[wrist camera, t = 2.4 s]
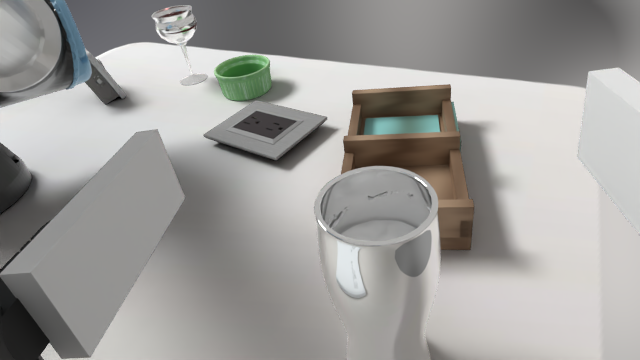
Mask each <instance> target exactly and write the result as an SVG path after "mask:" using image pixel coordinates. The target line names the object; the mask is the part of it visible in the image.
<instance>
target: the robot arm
mask: <svg viewBox="0 0 640 360" xmlns="http://www.w3.org/2000/svg"><path fill="white" fill-rule="evenodd" d="M91 74H92V69H91V65H90V61H89V59H88V56H87V54H86V51H85V47H84V44H83V42H82V39H81V36H80V34H79V31H78V29H77V26H76V24H75V22H74V19H73V17H72V15H71V13H70V11H69V9H68V6H67V4H66V2H65V0H0V108H1V107H5V106H8V105H12V104H15V103H18V102H22V101H25V100H29V99H32V98H36V97H39V96H43V95H46V94H49V93H53V92H56V91H60V90H63V89H71V88H73V87H74V86H75V85H78V84H81V83H83V82H86V81H87V80H89V78H90V77H91ZM577 157H578V159H579V160H580V161H581V162H582V164H583V165H584V166H585V168H586V169H587V170H588V171H589V173H590V174H591V175H592V176H593V178H594V179H595V180H596V181H597V183H598V184H599V185H600V186H601V188H602V189H603V190H604V191H605V193H606V194H607V195H608V196H609V198H610V199H611V200H612V201H613V203H614V204H615V205H616V206H617V208H618V209H619V210H620V211H621V213H622V214H623V215H624V217H625V218H626V219H627V220H628V222H629V223H630V224H631V225H632V227H633V228H634V229H635V230H636V231H637V233H638V234H639V235H640V82H638V81H637V80H635V79H634V78H633V77H631V76H630V75H628V74H627V73H626V72H624V71H623V70H621V69H620V68H613V69H605V70H597V71H590V72H589V73H588V80H587V87H586V95H585V102H584V109H583V117H582V124H581V131H580V139H579V146H578V153H577ZM30 183H31V173H30V172H29V170H28V169H27V167H26V165H25V164H24V162H23V161H22V160H21V159H20V158H19V157H18V156H17V155H15V154H14V153H13V152H11V151H10V150H9V149H8V148H6V147H5V146H4V145H3V144H1V143H0V213H2V212H3V211H4V210H6V209H7V208H9V207H10V206H11V205H12V204H14V203H15V202H16V201H17V200H18V199H19V198H20V197H21V196H22V195H23V194H24V193H25V191H26V190H27V189H28V187H29V185H30ZM184 199H185V196H184V193H183V191H182V188H181V186H180V183H179V181H178V178H177V176H176V174H175V171H174V169H173V166H172V164H171V161H170V159H169V156H168V154H167V151H166V149H165V147H164V144H163V142H162V139H161V137H160V134H159V132H158V129H157V130H149V131H142V132H136V133H135V134H134V135H133V136H132V137H131V138H130V139H129V140H128V141H127V142H126V143H125V144H124V145H123V147H122V148H121V149H120V150H119V151H118V152H117V153H116V154H115V155H114V156H113V157H112V158H111V159H110V160H109V161H108V162H107V163H106V164H105V165H104V166H103V167H102V168H101V169H100V170H99V171H98V172H97V173H96V175H95V176H94V177H93V178H92V179H91V180H90V181H89V182H88V183H87V184H86V185H85V186H84V187H83V188H82V189H81V190H80V191H79V192H78V193H77V194H76V195H75V196H74V197H73V198H72V199H71V200H70V201H69V203H68V204H67V205H66V206H65V207H64V208H63V209H62V210H61V211H60V212H59V213H58V214H57V215H56V216H55V217H54V218H53V219H52V220H51V221H49V222H48V223H46V224H45V225H43V226H42V227H41V228H40V229H39V230H38V231H37V233H36V234H35V235H34V236H33V237H32V238H31V241H28V242H27V243H26V244H25V245H24V246H23V247H22V248H21V249H20V250H21V251H20V252H17V253H16V254H15V255H14V256H13V257H12V258H11V259H10V260H9V261H8V262H7V263H6V264H5V265H4V266H3V267H2V268H1V269H0V360H44V359H43V358H42V357H41V353H42V352H43V351H44V349H45V348H46V346H47V345H48V343H50V344H51V345H52V347H53V348H54V349H55V351H56V352H57V353H58V354H59V356H60V357H61V358H62V359H66V358H90V357H91V355H92V354H93V352H94V350H95V349H96V347H97V345H98V344H99V342H100V340H101V339H102V337H103V335H104V333H105V332H106V330H107V328H108V327H109V325H110V323H111V322H112V320H113V318H114V317H115V315H116V313H117V312H118V310H119V308H120V307H121V305H122V303H123V302H124V300H125V298H126V297H127V295H128V293H129V292H130V290H131V288H132V287H133V285H134V283H135V281H136V280H137V278H138V276H139V275H140V273H141V271H142V270H143V268H144V266H145V265H146V263H147V261H148V260H149V258H150V256H151V255H152V253H153V251H154V250H155V248H156V246H157V245H158V243H159V241H160V240H161V238H162V236H163V235H164V233H165V231H166V229H167V228H168V226H169V224H170V223H171V221H172V219H173V218H174V216H175V214H176V213H177V211H178V209H179V208H180V206H181V204H182V203H183V201H184Z"/></svg>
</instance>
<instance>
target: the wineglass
mask: <svg viewBox="0 0 640 360" xmlns="http://www.w3.org/2000/svg"><path fill="white" fill-rule="evenodd" d="M191 9H192V7H191V6H189V5H180V6H173V7H169V8H165V9H162V10H159V11H157V12H155V13H154V14H153V15H152V18H153V19H154V20H155V21H156V22H155V27H156V30H157V32H158V34H159V35H160V37H161V38H163V39H165V40H166V41H168V42H170V43H177V45H179V46H181V49H182V51H183V54H184V57H185V59H186V62H187V65H188V67H189V70H190V73H191V75H189V76H186V77H184V78H183V79H182V80H181V81H180V83H181V84H182V85H193V84H197V83H200V82H202V81H204V80H205V79H206V78H207V75H206V74H204V73H196V74H193V72H192V68H191V64H190V61H189V57H188V54H187V50H186V46H185V44H186V43H187V41H188V40H189V39H190V38H191V37H192V36H193V34H194V32H195V30H196V25H197V22H196V19H195V17H194V15H193V14H192V13H191Z"/></svg>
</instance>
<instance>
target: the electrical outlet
mask: <svg viewBox="0 0 640 360" xmlns="http://www.w3.org/2000/svg"><path fill="white" fill-rule="evenodd" d="M326 120H327V117H325V116H321V115H317V114H313V113H308V112H304V111H300V110H296V109H291V108H287V107H283V106H278V105H274V104H270V103H266V102H261V101H257V100H256V101H254V102H253V103H251V104H249V105H248V106H246V107H245V108H243V109H242V110H240V111H239V112H237V113H236V114H234V115H233V116H231V117H230V118H228V119H227V120H225V121H224V122H222V123H221V124H219V125H217V126H216V127H214V128H213V129H211V130H210V131H208V132H207V133H205V134H204V137H206V138H208V139H211V140H214V141H217V142H220V143H223V144H226V145H229V146H232V147H235V148H238V149H241V150H244V151H247V152H251V153H254V154H257V155H260V156H263V157H266V158H269V159H272V160H275V161H277V160H278V159H279V158H281V157H282V156H283V155H284V154H286V153H287V152H288V151H289V150H291V149H292V148H293V147H294V146H296V145H297V144H298V143H299V142H300V141H302V140H303V139H304V138H305V137H307V136H308V135H309V134H310V133H312V132H313V131H314V130H315V129H317V128H318V127H319V126H320V125H322V124H323V123H324V122H325V121H326Z"/></svg>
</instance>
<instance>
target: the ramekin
mask: <svg viewBox="0 0 640 360" xmlns="http://www.w3.org/2000/svg"><path fill="white" fill-rule="evenodd" d="M269 67H270V61H269V59H268V58H267V57H265V56H261V55H245V56H239V57H235V58H232V59H229V60H227V61H224V62H222V63H221V64H219V65H218V66H217V67H216V68H215V70H214V74H215V76H216V78H217V79H218V81H219V84H220V87H221V89H222V92H223V94H224V96H225V97H226V98H228V99H230V100H234V101H245V100H250V99H254V98H257V97H259V96H262V95H263V94H265V93H266V92H268V91H269V89H270V88H271V76H270V68H269Z"/></svg>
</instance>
